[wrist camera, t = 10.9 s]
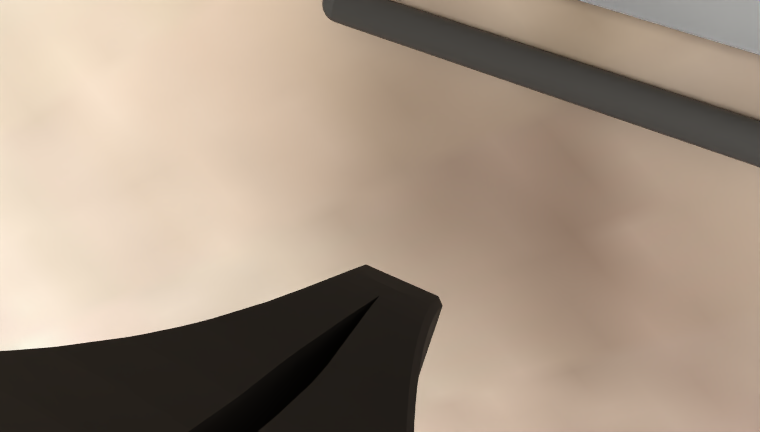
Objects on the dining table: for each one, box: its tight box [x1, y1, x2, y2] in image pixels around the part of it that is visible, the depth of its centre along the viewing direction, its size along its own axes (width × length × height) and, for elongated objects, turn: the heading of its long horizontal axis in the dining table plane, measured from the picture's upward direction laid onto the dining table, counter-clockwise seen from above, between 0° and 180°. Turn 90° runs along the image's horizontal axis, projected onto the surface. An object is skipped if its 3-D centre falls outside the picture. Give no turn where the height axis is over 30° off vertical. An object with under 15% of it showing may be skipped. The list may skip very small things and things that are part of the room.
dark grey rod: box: [322, 0, 760, 167], centre depth 17 cm, size 21×1×1 cm, turn 76°
